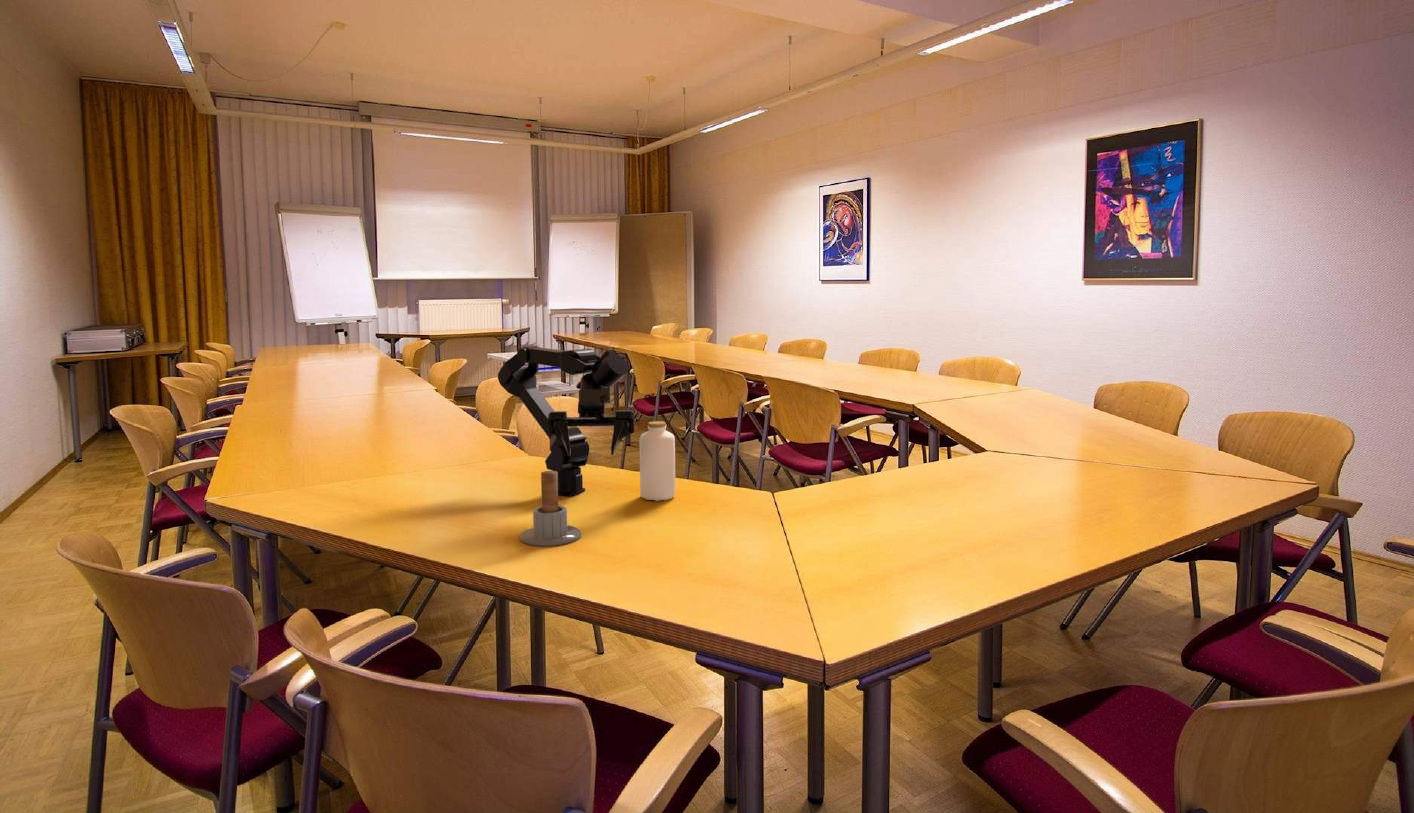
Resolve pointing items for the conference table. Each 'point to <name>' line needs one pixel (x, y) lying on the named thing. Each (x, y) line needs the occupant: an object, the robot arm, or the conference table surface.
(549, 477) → the brown wooden dowel
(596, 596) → the conference table surface
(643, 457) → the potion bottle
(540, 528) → the grey flared collar base
